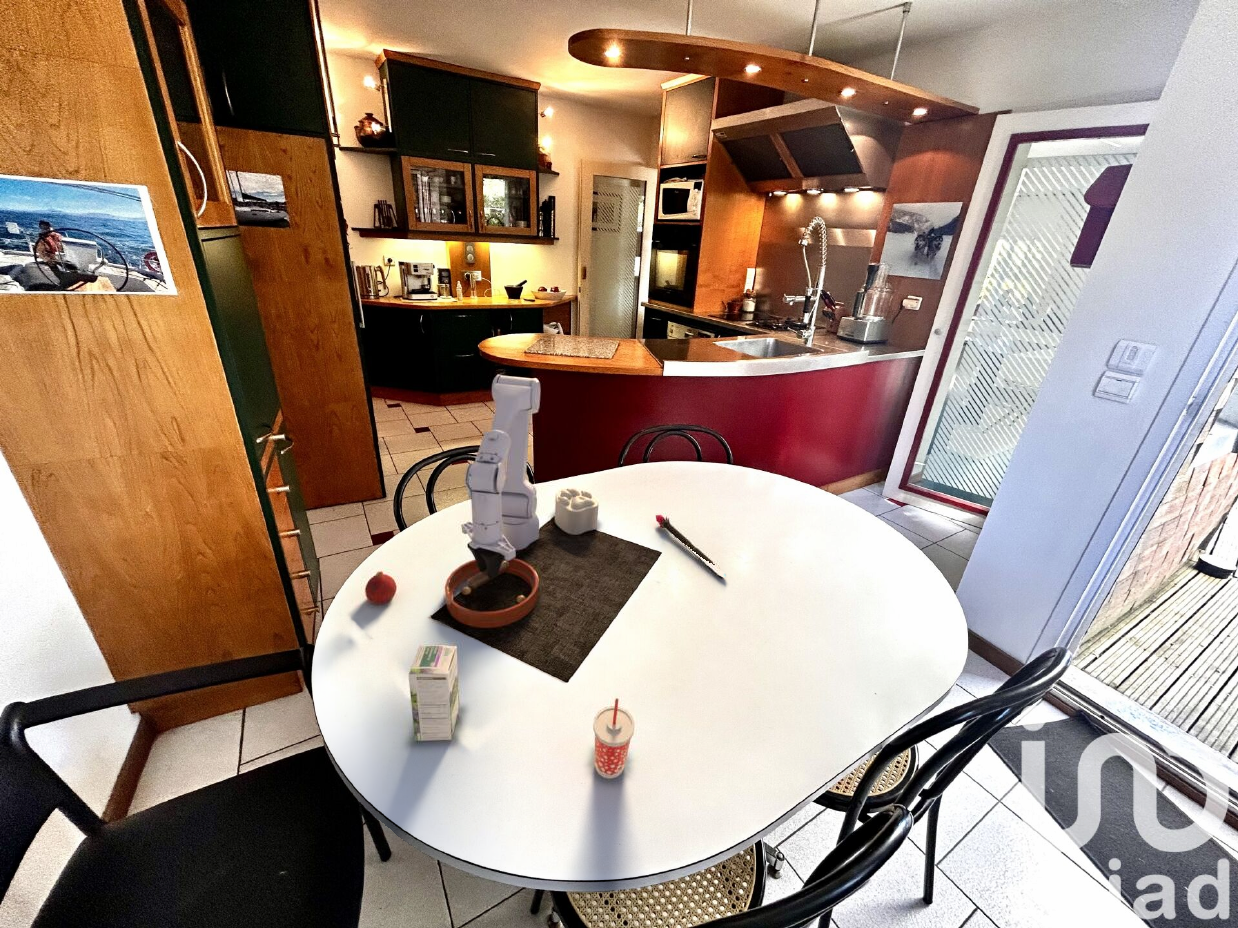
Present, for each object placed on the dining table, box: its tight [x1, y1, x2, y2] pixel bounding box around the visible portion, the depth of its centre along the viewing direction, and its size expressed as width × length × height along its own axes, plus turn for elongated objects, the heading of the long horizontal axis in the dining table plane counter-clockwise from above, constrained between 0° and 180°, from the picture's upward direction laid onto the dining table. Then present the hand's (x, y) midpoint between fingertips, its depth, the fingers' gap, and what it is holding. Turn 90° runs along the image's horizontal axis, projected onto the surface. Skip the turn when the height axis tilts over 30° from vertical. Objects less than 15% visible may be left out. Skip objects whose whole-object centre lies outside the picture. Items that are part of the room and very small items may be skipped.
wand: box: [655, 514, 716, 568], centre depth 131 cm, size 4×4×30 cm
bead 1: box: [460, 586, 472, 596], centre depth 106 cm, size 2×2×2 cm
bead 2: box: [516, 594, 527, 604], centre depth 105 cm, size 2×2×2 cm
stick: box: [466, 560, 509, 590], centre depth 104 cm, size 10×2×2 cm, turn 143°
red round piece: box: [364, 570, 398, 605], centre depth 102 cm, size 6×6×8 cm
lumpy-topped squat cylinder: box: [554, 487, 599, 536], centre depth 138 cm, size 10×13×9 cm
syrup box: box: [408, 644, 460, 742], centre depth 76 cm, size 6×6×14 cm
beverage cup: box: [592, 697, 636, 780], centre depth 73 cm, size 6×6×14 cm
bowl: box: [444, 557, 539, 629], centre depth 106 cm, size 19×19×5 cm
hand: (488, 573), depth 103 cm, fingers closed on stick, 2 cm apart
